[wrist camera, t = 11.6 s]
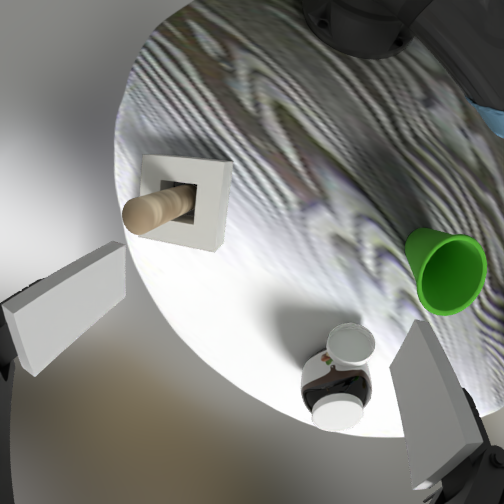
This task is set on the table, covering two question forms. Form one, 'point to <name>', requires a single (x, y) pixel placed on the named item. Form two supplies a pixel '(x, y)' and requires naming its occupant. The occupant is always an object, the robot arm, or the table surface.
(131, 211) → the peg
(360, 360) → the spread jar
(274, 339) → the table surface
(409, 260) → the cup
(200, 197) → the socket block
